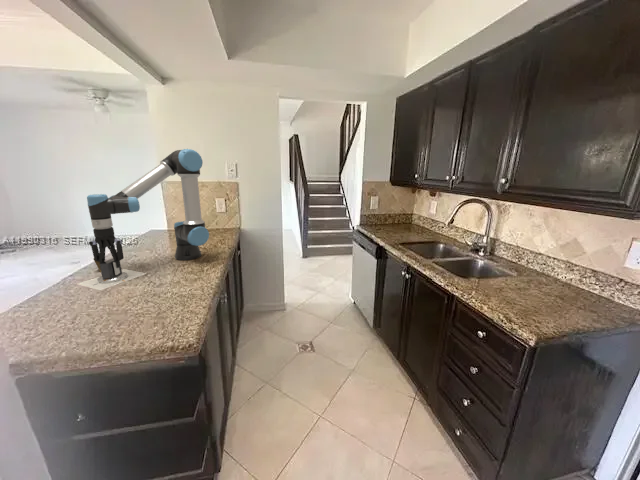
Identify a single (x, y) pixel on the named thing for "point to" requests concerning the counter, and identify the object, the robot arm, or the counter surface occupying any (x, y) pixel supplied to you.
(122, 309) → the counter surface
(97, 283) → the dial panel
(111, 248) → the robot arm
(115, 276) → the dial
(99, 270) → the rock
